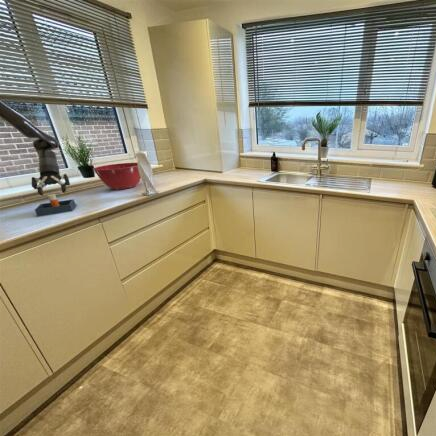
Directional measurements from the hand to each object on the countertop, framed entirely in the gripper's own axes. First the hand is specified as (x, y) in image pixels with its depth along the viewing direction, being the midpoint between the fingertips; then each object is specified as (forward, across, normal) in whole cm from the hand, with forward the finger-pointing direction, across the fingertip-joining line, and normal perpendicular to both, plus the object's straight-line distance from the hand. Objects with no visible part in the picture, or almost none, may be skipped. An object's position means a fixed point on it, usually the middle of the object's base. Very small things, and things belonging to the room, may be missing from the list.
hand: (52, 193), depth 124 cm
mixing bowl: (-20, +29, +33) cm, 48 cm away
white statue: (+3, +44, +11) cm, 45 cm away
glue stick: (+8, 0, +4) cm, 9 cm away
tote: (+9, 0, +4) cm, 10 cm away
